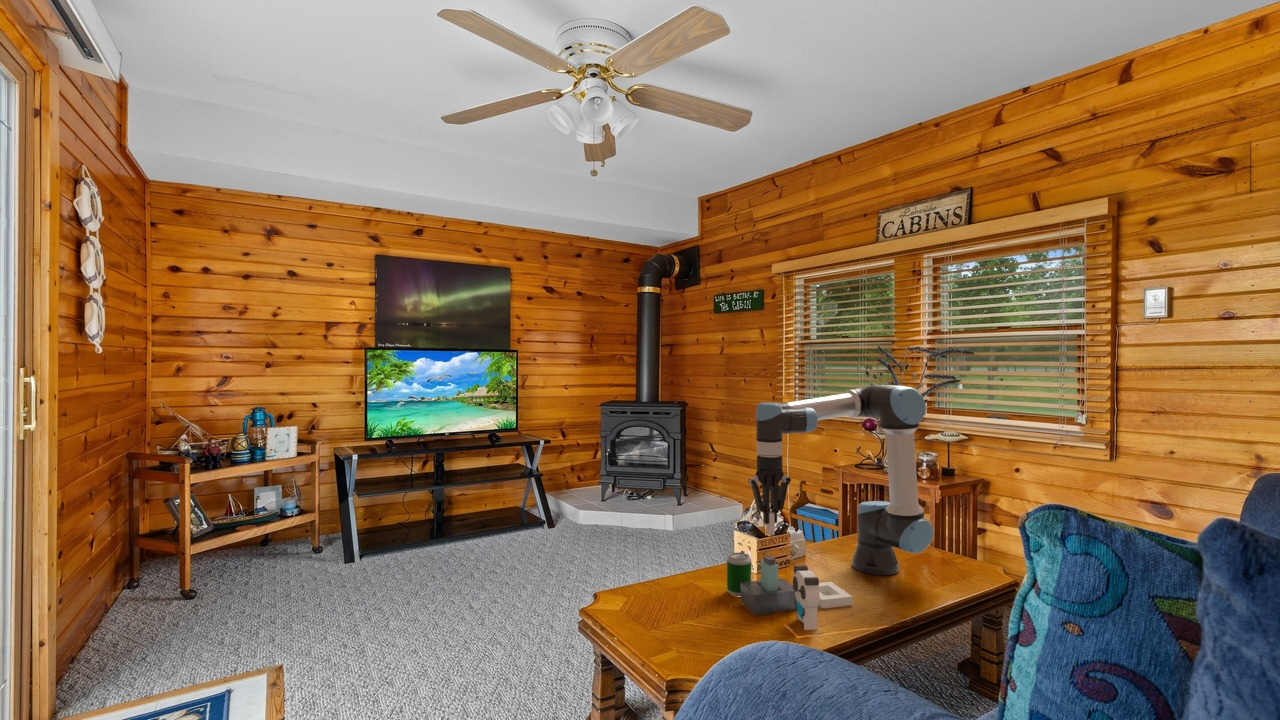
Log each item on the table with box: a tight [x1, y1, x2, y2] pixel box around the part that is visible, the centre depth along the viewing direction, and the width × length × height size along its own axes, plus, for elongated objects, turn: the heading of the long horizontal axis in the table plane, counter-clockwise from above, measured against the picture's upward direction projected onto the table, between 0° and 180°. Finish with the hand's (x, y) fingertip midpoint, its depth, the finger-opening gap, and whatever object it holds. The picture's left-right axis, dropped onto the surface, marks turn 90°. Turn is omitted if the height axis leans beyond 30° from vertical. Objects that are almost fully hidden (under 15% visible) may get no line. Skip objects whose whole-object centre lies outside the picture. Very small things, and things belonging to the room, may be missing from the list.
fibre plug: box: [760, 555, 779, 592], centre depth 182 cm, size 3×5×13 cm, turn 13°
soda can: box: [726, 552, 752, 596], centre depth 191 cm, size 8×8×12 cm
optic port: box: [740, 577, 797, 616], centre depth 182 cm, size 14×10×6 cm
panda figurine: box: [785, 565, 825, 636], centre depth 169 cm, size 12×11×15 cm
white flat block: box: [818, 581, 854, 609], centre depth 186 cm, size 10×12×3 cm
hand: (770, 533), depth 182 cm, fingers closed
